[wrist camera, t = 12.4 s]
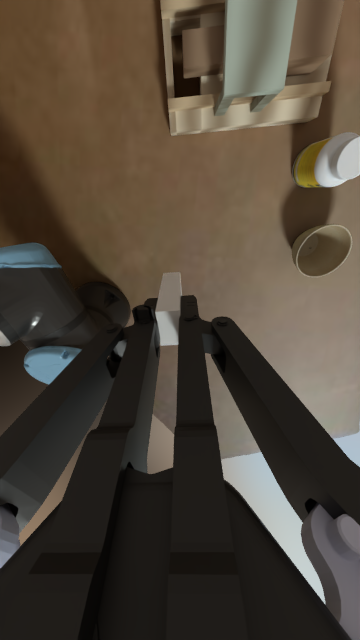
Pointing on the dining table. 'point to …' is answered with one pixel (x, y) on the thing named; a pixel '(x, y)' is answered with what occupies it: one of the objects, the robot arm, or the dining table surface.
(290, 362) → the dining table surface
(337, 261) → the flower pot
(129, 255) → the dining table surface
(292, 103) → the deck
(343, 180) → the pill bottle
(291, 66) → the tan wooden bar
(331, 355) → the dining table surface
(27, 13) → the dining table surface
